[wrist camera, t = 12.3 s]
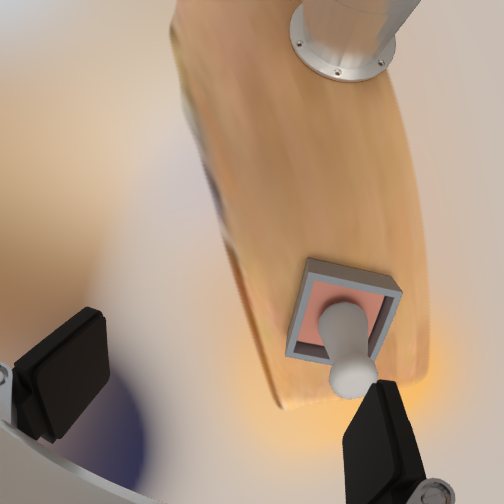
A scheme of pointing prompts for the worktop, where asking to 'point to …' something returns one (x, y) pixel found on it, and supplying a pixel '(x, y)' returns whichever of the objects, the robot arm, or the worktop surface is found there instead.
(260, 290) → the worktop surface
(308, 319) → the pan
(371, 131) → the worktop surface
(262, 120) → the worktop surface
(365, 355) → the grey bowling pin
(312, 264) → the press housing
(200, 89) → the worktop surface
